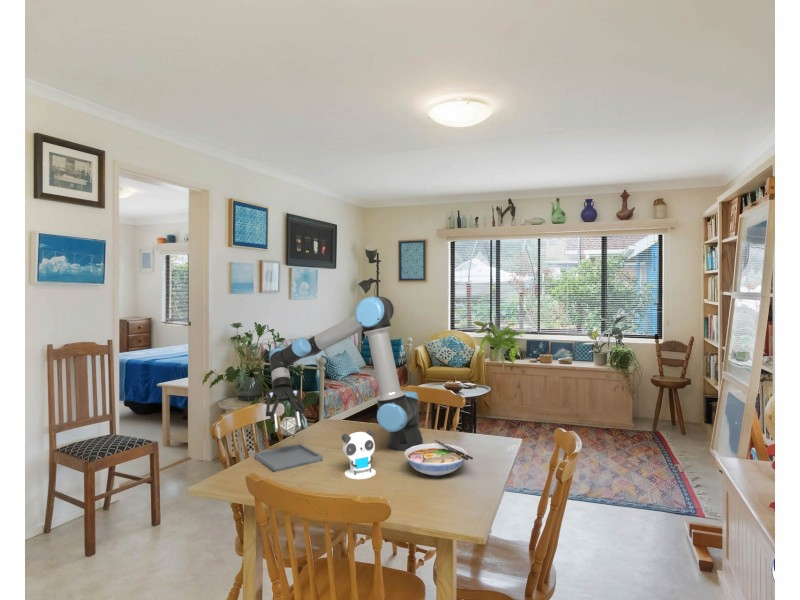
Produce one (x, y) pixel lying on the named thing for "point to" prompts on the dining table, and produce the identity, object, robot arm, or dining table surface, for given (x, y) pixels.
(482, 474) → the dining table surface
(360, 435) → the panda figurine
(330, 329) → the robot arm
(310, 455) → the tray
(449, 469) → the ramen bowl
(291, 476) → the dining table surface
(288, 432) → the game die
